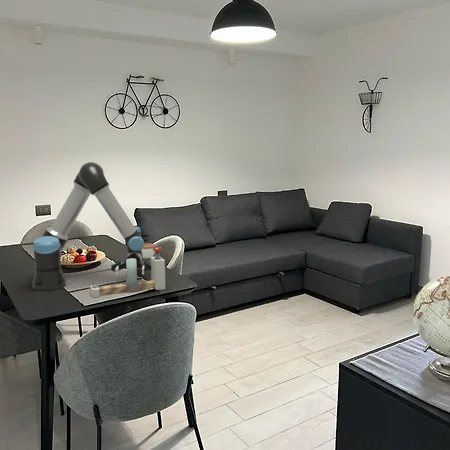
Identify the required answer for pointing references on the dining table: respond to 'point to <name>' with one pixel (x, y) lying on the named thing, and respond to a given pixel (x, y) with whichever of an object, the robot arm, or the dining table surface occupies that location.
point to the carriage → (131, 274)
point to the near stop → (94, 291)
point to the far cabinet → (158, 273)
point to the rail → (125, 288)
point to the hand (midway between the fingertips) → (129, 272)
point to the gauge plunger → (157, 252)
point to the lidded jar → (148, 250)
